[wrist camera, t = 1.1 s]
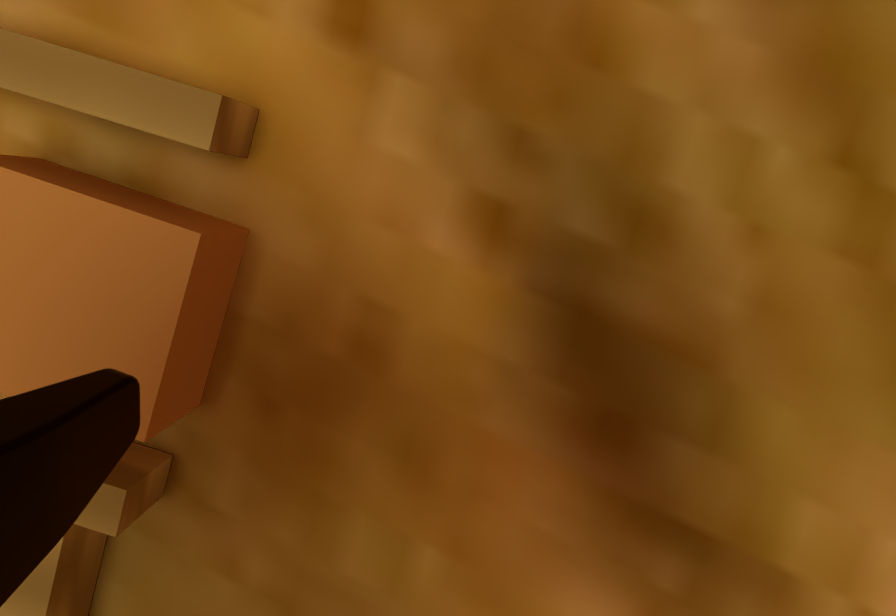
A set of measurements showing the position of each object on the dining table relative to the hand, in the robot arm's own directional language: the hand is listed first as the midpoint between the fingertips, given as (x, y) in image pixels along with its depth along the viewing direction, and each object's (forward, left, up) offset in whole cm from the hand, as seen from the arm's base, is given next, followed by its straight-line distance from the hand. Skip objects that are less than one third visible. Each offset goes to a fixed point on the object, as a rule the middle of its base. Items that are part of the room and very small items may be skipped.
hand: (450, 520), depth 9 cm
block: (-2, +11, -14) cm, 18 cm away
